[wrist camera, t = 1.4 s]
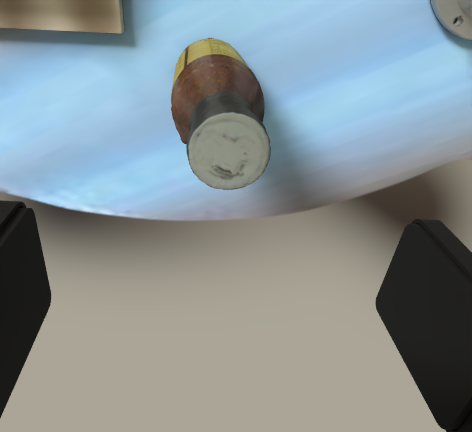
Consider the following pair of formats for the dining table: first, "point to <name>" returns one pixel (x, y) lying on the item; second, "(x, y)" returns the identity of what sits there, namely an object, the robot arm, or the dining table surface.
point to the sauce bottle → (220, 115)
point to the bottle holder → (63, 15)
